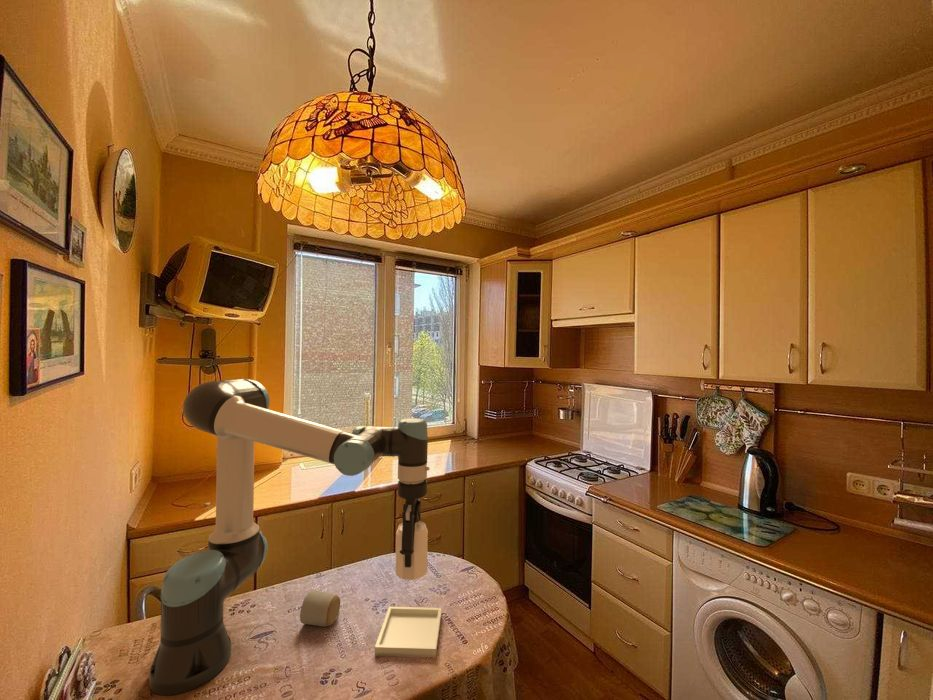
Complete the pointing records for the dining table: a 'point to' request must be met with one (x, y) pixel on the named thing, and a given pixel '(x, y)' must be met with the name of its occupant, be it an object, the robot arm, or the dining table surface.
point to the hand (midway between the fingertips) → (411, 568)
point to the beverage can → (419, 551)
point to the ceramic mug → (320, 608)
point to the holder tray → (409, 632)
